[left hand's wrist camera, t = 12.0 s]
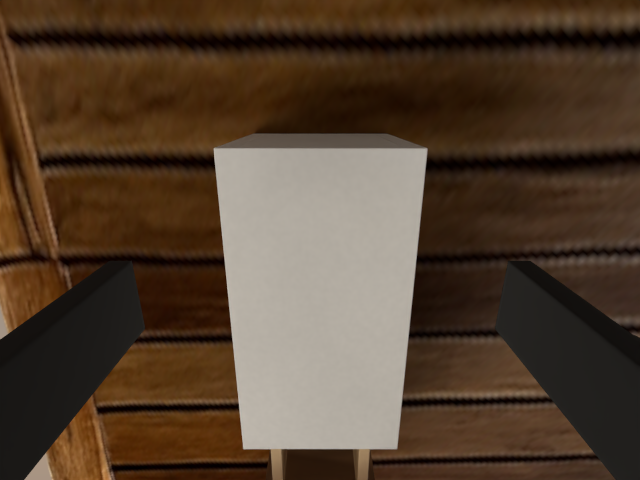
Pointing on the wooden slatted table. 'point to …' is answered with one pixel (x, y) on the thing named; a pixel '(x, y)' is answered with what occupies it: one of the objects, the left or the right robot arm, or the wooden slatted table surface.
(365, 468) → the drawer
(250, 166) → the cabinet
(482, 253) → the wooden slatted table surface
